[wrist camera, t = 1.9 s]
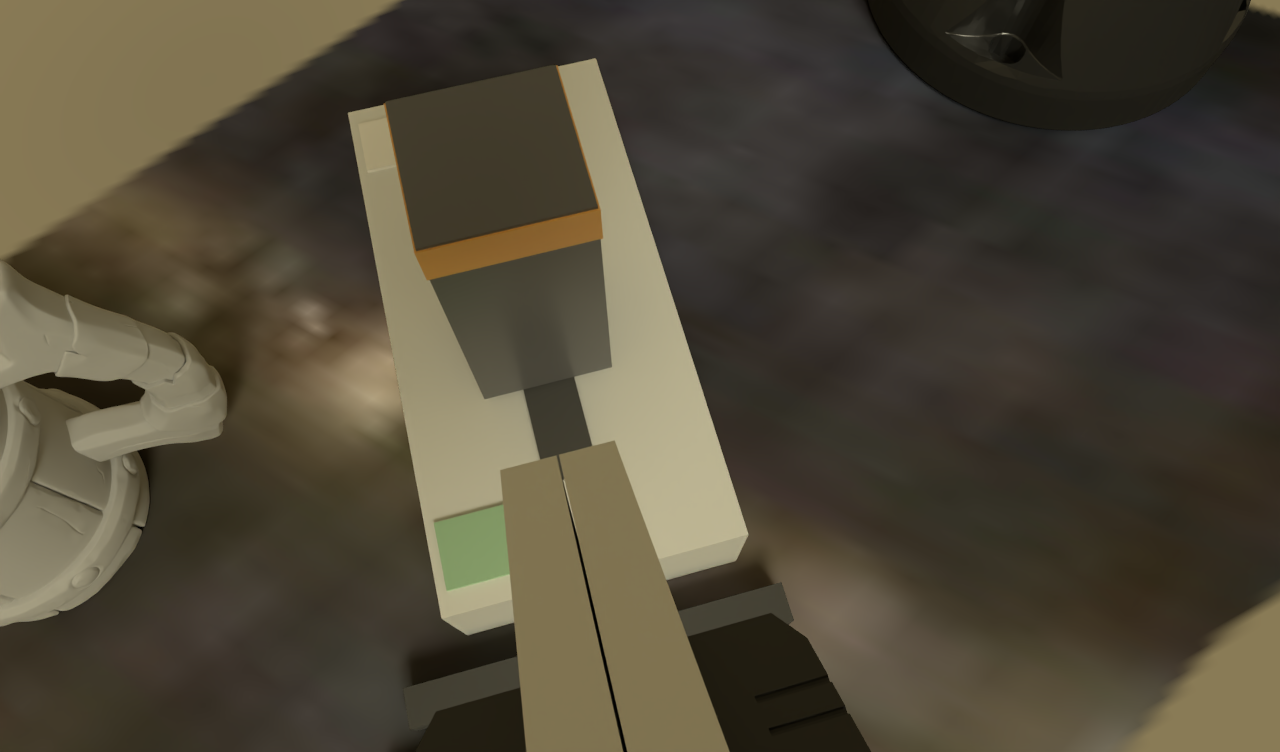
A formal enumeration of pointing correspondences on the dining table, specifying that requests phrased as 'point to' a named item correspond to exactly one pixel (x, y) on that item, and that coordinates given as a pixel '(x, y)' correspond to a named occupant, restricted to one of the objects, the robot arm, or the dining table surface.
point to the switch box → (549, 387)
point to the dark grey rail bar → (506, 673)
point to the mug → (83, 441)
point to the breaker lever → (506, 226)
